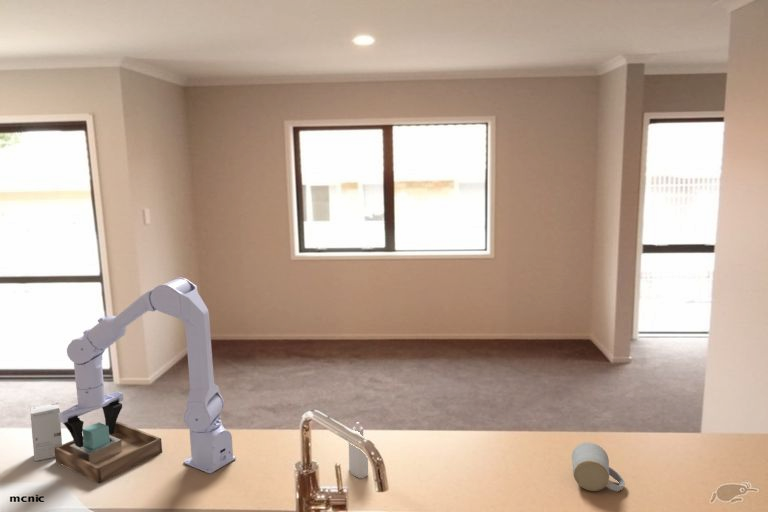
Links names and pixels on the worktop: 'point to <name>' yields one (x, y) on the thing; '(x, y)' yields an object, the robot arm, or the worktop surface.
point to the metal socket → (98, 451)
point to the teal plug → (95, 436)
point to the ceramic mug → (594, 468)
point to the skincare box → (45, 430)
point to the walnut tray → (133, 452)
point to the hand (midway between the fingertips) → (95, 439)
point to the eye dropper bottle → (358, 458)
